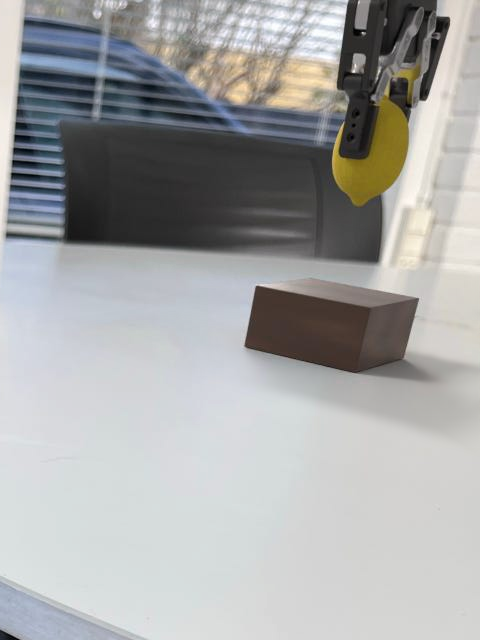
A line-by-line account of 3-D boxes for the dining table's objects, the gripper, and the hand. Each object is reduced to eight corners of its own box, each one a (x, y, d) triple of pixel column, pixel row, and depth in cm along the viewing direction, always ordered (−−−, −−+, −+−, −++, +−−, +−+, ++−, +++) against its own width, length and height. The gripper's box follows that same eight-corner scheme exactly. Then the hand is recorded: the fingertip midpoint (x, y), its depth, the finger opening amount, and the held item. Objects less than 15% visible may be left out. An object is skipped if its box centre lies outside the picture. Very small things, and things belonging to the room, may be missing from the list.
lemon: (383, 212, 81) (410, 95, 77) (313, 203, 84) (336, 89, 80) (401, 209, 85) (428, 98, 82) (334, 201, 88) (357, 92, 84)
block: (297, 335, 96) (309, 277, 94) (404, 358, 90) (419, 298, 88) (243, 346, 89) (255, 285, 87) (355, 372, 83) (370, 307, 81)
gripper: (442, -123, 68) (377, 163, 76) (512, -84, 78) (448, 166, 86) (334, -119, 72) (283, 153, 80) (414, -82, 82) (361, 156, 90)
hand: (369, 158), depth 83 cm, fingers closed on lemon, 5 cm apart
